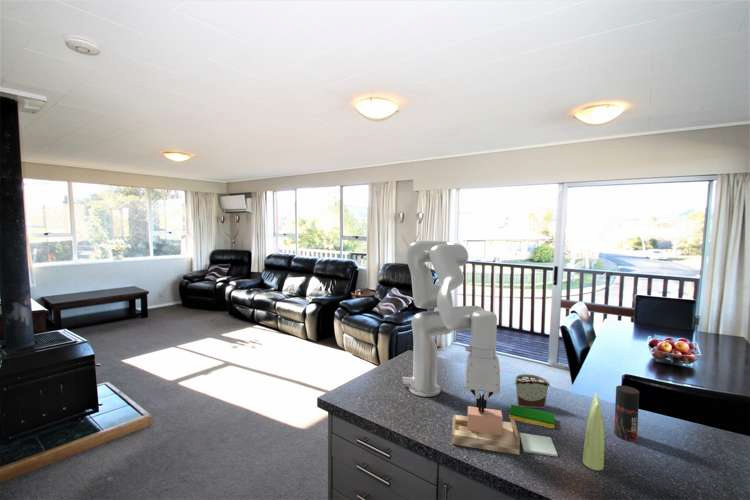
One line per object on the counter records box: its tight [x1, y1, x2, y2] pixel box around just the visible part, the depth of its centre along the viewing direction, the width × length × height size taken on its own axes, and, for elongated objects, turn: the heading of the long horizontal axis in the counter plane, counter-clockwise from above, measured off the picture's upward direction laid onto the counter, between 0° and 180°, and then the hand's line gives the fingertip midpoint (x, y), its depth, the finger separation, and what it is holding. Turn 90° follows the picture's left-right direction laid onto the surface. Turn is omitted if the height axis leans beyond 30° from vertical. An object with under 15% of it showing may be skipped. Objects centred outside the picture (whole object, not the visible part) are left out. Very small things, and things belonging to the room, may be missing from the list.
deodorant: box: [613, 385, 640, 442], centre depth 111 cm, size 6×6×15 cm
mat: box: [518, 432, 559, 458], centre depth 106 cm, size 9×9×1 cm
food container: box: [513, 373, 550, 409], centre depth 132 cm, size 12×6×10 cm, turn 84°
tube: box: [582, 391, 605, 471], centre depth 96 cm, size 6×5×20 cm
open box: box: [451, 414, 521, 456], centre depth 109 cm, size 19×12×4 cm, turn 76°
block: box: [467, 405, 504, 436], centre depth 109 cm, size 5×5×10 cm
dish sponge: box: [508, 404, 555, 429], centre depth 121 cm, size 7×14×2 cm, turn 64°
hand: (481, 410), depth 109 cm, fingers closed
